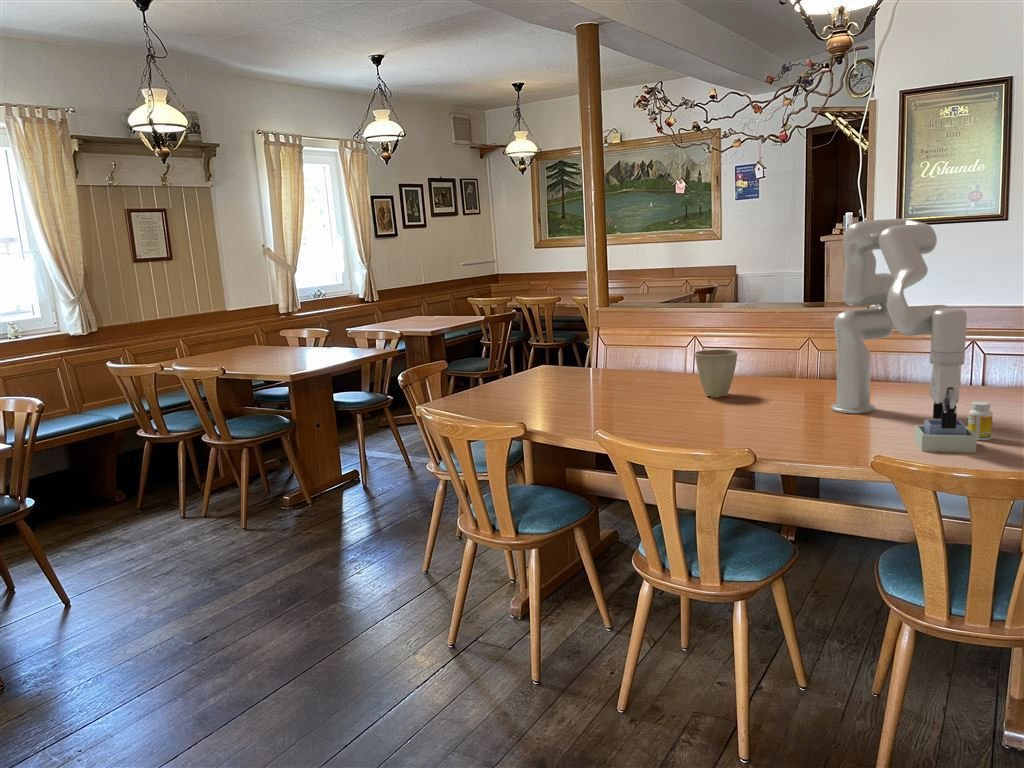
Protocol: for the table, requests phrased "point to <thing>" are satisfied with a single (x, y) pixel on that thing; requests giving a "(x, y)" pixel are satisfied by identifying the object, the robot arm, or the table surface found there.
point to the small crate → (935, 428)
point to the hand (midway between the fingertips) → (944, 423)
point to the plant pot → (716, 370)
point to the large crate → (945, 441)
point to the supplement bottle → (980, 420)
